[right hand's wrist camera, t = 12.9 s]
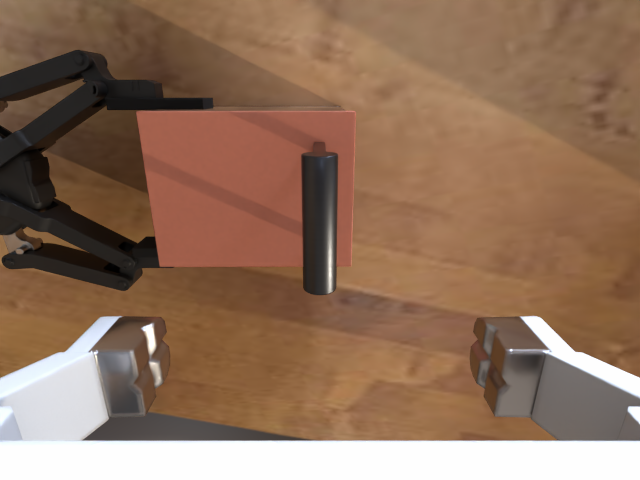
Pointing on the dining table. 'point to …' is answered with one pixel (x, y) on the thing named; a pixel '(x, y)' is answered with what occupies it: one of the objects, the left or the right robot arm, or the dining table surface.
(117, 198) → the dining table surface
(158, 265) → the left robot arm
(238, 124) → the lid
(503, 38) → the dining table surface
